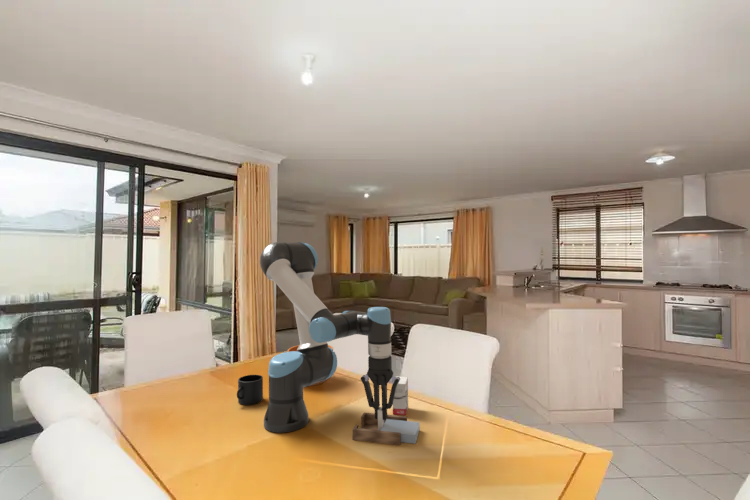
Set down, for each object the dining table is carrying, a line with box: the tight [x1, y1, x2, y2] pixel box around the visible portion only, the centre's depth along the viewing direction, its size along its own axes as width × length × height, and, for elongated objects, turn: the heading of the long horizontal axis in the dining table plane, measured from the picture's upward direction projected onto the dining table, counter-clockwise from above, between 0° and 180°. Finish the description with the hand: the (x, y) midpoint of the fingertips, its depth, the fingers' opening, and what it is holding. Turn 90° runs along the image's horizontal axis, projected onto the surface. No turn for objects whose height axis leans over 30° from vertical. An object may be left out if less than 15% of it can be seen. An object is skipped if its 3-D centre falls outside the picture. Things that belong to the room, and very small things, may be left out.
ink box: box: [392, 375, 409, 416], centre depth 139 cm, size 9×5×12 cm, turn 168°
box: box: [352, 412, 408, 446], centre depth 122 cm, size 15×13×4 cm
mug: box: [236, 374, 264, 406], centre depth 151 cm, size 9×12×9 cm
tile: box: [381, 419, 421, 444], centre depth 120 cm, size 11×9×3 cm
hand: (381, 429), depth 121 cm, fingers closed
